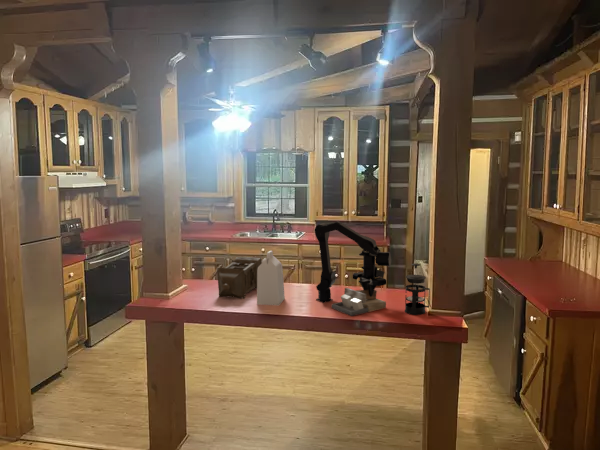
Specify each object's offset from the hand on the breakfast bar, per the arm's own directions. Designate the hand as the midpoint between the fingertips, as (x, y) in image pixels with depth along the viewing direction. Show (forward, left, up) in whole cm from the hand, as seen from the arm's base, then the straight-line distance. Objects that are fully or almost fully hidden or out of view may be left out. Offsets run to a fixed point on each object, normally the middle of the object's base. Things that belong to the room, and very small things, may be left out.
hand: (369, 295), depth 224 cm
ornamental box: (-58, -44, -5) cm, 73 cm away
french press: (+21, +11, -5) cm, 24 cm away
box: (0, -13, -5) cm, 13 cm away
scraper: (0, -3, -1) cm, 3 cm away
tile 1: (-4, -10, -1) cm, 10 cm away
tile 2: (+4, -10, -1) cm, 10 cm away
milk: (-34, -36, -5) cm, 50 cm away
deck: (0, -2, -5) cm, 5 cm away
